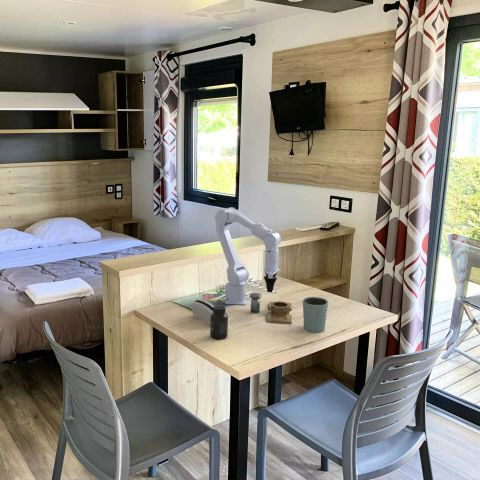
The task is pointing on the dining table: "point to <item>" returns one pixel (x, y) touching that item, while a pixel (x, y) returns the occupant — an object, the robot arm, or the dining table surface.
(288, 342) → the dining table surface
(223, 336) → the supplement bottle
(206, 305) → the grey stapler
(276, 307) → the hinge leaves
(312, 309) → the teal cup
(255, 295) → the pin
